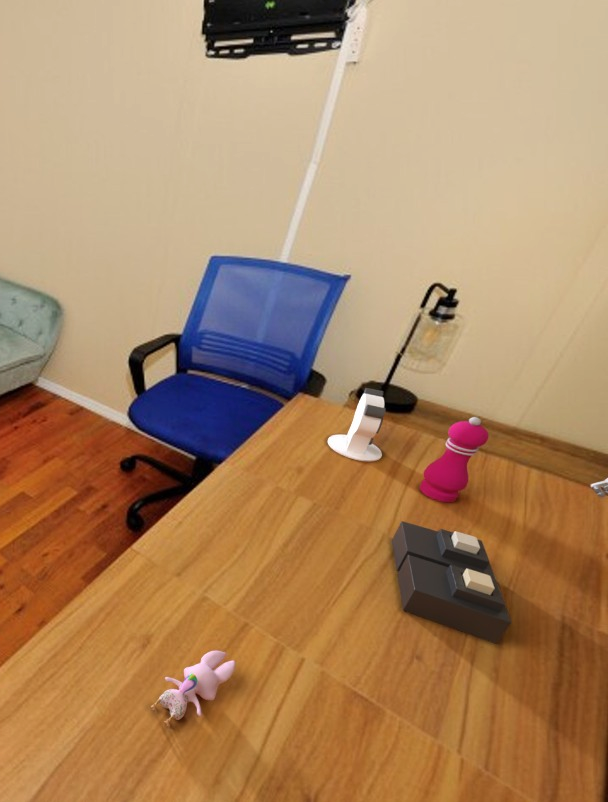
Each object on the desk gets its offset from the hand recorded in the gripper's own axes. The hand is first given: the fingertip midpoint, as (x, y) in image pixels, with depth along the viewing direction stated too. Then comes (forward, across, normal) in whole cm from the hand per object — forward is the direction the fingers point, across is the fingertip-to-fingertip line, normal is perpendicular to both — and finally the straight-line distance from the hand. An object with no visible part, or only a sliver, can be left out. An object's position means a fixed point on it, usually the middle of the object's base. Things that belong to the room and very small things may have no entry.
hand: (607, 508), depth 78 cm
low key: (+19, -1, +2) cm, 19 cm away
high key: (+19, +9, +2) cm, 21 cm away
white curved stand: (+32, -39, -2) cm, 51 cm away
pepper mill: (+22, -28, +9) cm, 36 cm away
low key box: (+25, -1, +5) cm, 26 cm away
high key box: (+25, +9, +5) cm, 27 cm away
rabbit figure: (+50, +46, -20) cm, 71 cm away
